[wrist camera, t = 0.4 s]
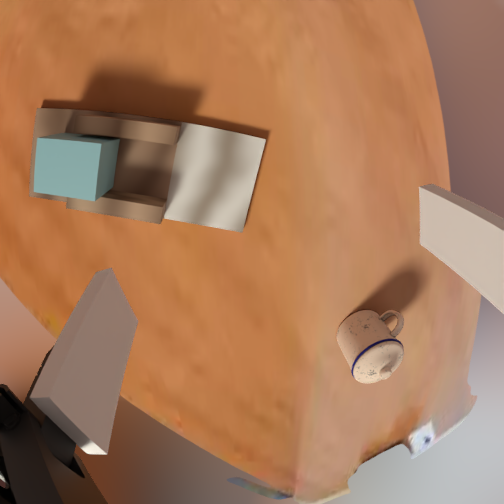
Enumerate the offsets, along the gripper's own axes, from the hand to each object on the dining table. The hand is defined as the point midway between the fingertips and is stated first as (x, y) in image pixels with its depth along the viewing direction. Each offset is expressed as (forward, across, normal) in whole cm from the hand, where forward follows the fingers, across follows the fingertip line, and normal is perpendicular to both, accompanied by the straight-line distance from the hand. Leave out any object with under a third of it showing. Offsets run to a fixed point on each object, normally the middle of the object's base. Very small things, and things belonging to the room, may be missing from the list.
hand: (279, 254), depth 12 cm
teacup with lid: (+27, +15, -31) cm, 44 cm away
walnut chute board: (+27, -12, +3) cm, 30 cm away
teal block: (+26, -17, +6) cm, 31 cm away
